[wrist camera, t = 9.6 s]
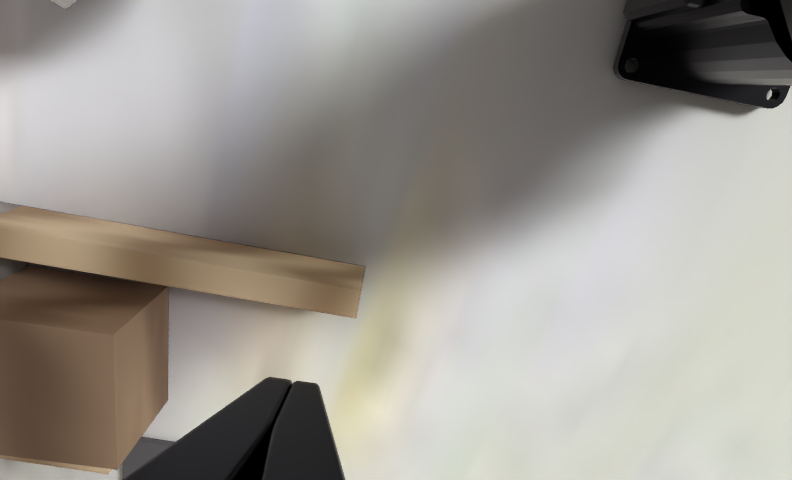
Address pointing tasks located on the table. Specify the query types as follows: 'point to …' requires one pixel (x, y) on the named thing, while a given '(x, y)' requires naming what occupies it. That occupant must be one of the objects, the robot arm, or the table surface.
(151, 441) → the pit mat
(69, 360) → the walnut block
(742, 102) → the robot arm
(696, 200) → the table surface
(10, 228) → the tunnel
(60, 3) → the die
